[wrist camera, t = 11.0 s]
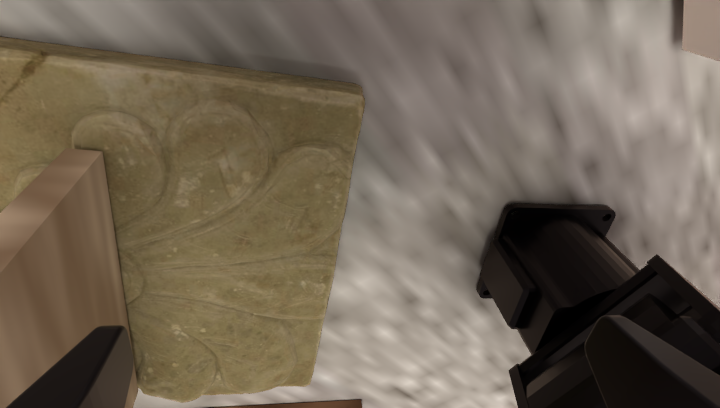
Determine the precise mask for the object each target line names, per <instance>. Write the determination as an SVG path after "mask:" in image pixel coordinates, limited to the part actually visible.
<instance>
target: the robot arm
mask: <svg viewBox="0 0 720 408" xmlns="http://www.w3.org/2000/svg"><path fill="white" fill-rule="evenodd" d="M515 211H516V213H515V214H513V215H511V214H512V213H513V212H515ZM604 215H605V216H604ZM603 216H604V217H603ZM614 218H615V212H614V211H613V210H612V209H611V208H610V207H608V206H588V205H554V204H521V203H514V204H510V205H508V206H507V207H506V208H505V209H504V211H503V213H502V216H501V219H500V222H499V225H498V228H497V231H496V234H495V237H494V239H493V240H492V242H491V244H490V247H489V250H488V253H487V256H486V259H485V261H484V264H483V267H482V270H481V273H480V276H481V277H480V280H479V283H478V286H477V292H478V294H479V296H480V297H481V298H493V299H494V301H495V303H496V305H497V307H498V308H499V310H500V312H501V314H502V316H503V318H504V319H505V321H506V323H507V325H508V326H509V327H510V328H511V329H517V330H518V332H519V333H520V335H521V337H522V339H523V341H524V342H525V344H526V346H527V348H528V349H529V351H530V353H531V356H530V357H528V358H527V359H526V360H525V361H523V362H522V363H521V364H516V365H515V366H514V367H512V368H511V369H510V370H509V374H510V378H511V382H512V385H513V389H514V393H515V397H516V401H517V405H518V408H720V308H719V307H718V306H717V305H715V304H714V303H713V302H712V301H711V300H710V299H709V298H707V297H706V296H705V295H704V294H703V293H702V292H701V291H699V290H698V289H697V288H696V287H695V286H693V285H692V284H691V283H690V282H689V281H688V280H686V279H685V278H684V277H683V276H682V275H681V274H679V273H678V272H677V271H676V270H675V269H674V268H672V267H671V266H670V265H669V264H668V263H667V262H665V261H664V260H663V259H662V258H661V257H660V256H658V255H656V256H654V257H653V258H652V259H650V260H649V261H648V262H647V263H648V265H646V266H645V267H644V268H643V269H641V270H639V269H638V268H637V267H636V266H635V265H634V264H633V263H632V262H631V261H630V260H629V259H628V258H627V257H626V256H625V255H624V254H623V253H621V252H620V251H619V250H618V249H617V248H616V247H615V246H614V245H613V244H612V243H611V242H610V241H609V240H608V239H607V238H606V237H605V236H606V234H607V232H608V230H609V228H610V226H611V224H612V222H613V220H614ZM486 289H487V290H486ZM133 366H134V358H133V353H132V349H131V344H130V340H129V335H128V331H127V329H126V327H124V326H122V325H109V326H99V327H97V328H95V329H94V330H93V331H91V332H90V333H89V334H88V335H87V336H86V337H85V338H84V339H82V340H81V341H80V342H79V343H78V344H77V345H76V346H75V347H73V348H72V349H71V350H70V351H69V352H68V353H67V354H65V355H64V356H63V357H62V358H61V359H60V360H59V361H58V362H56V363H55V364H54V365H53V366H52V367H51V368H50V369H49V370H47V371H46V372H45V373H44V374H43V375H42V376H41V377H40V378H38V379H37V380H36V381H35V382H34V383H33V384H32V385H31V386H29V387H28V388H27V389H26V390H25V391H24V392H23V393H21V394H20V395H19V396H18V397H17V398H16V399H15V400H14V401H12V402H11V403H10V404H9V405H8V406H7V407H6V408H125V404H126V399H127V395H128V390H129V386H130V381H131V377H132V372H133Z"/></svg>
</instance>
